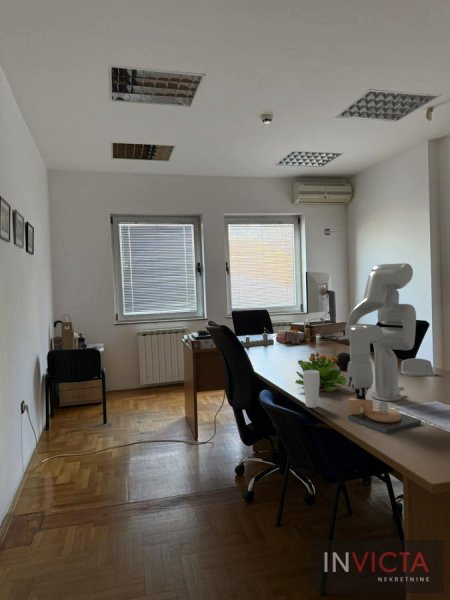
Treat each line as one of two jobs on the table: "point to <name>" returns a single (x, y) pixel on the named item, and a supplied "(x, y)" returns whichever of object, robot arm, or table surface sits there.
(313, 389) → the drinking glass
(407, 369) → the white arched block
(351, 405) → the wooden lever dial
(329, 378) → the potted flower
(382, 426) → the base plate
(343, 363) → the decorative ball
